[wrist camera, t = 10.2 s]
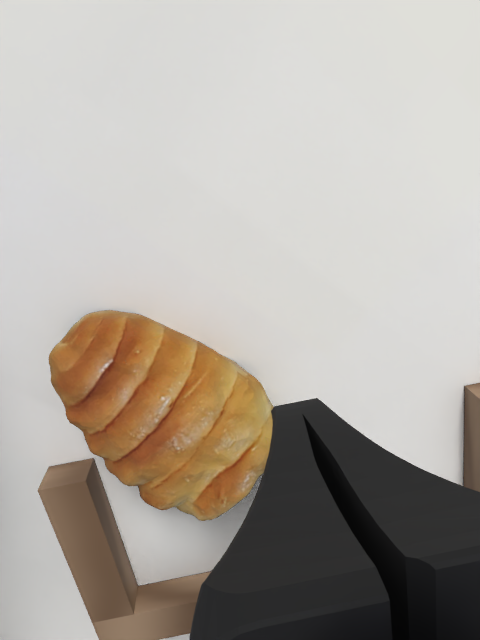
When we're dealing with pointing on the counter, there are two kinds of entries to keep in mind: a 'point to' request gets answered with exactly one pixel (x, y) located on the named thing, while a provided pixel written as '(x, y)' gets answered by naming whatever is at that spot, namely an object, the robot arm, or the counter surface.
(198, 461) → the pastry
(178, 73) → the counter surface
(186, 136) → the counter surface
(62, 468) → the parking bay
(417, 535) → the robot arm
